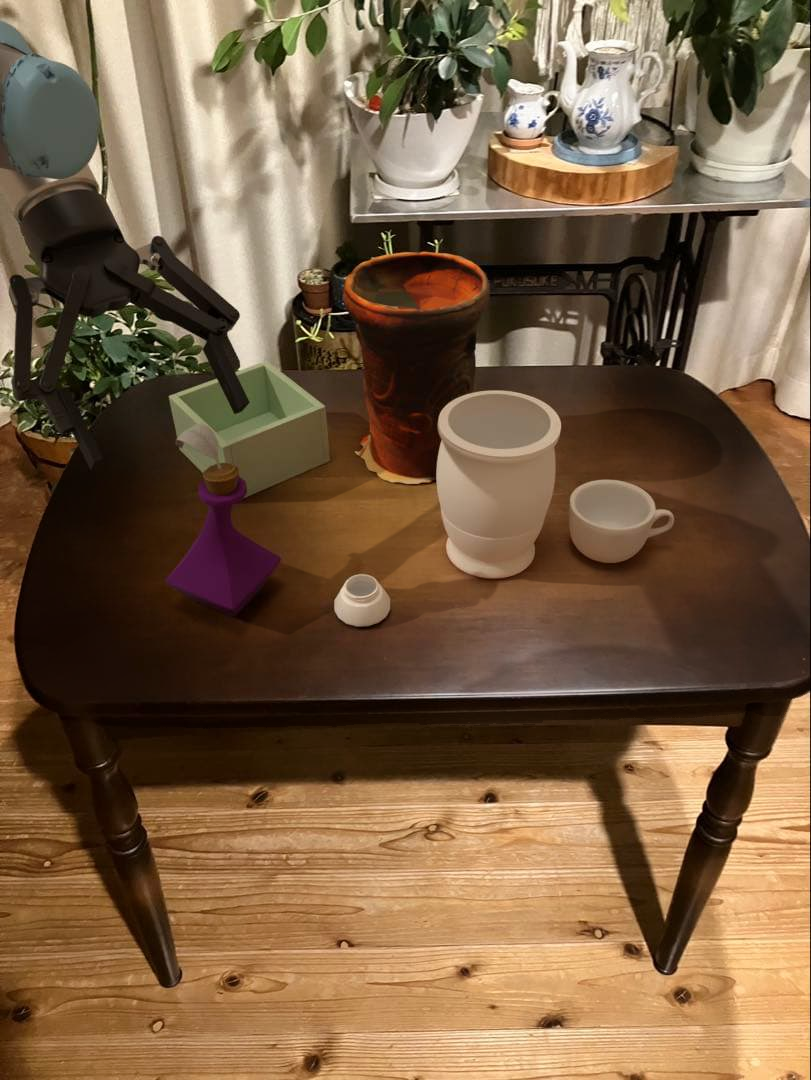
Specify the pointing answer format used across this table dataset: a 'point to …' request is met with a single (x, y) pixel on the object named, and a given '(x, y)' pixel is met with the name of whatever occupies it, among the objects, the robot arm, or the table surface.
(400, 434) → the vessel
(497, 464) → the jar
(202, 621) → the table surface
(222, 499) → the perfume bottle
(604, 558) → the teacup
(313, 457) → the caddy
